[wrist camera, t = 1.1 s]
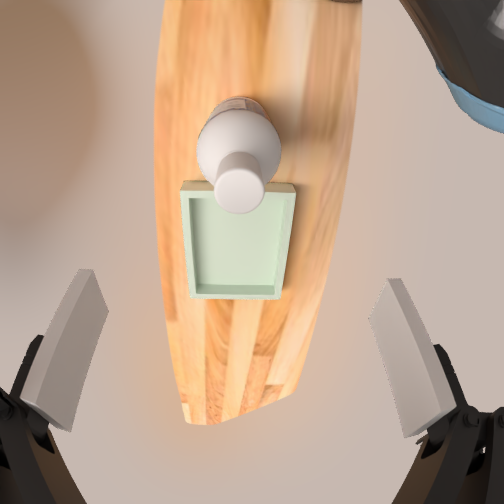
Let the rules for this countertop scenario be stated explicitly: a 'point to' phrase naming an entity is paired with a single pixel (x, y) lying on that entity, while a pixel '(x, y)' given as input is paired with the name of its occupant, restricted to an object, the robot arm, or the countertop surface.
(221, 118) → the bath foam
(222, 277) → the tray
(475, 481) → the robot arm
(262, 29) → the countertop surface
